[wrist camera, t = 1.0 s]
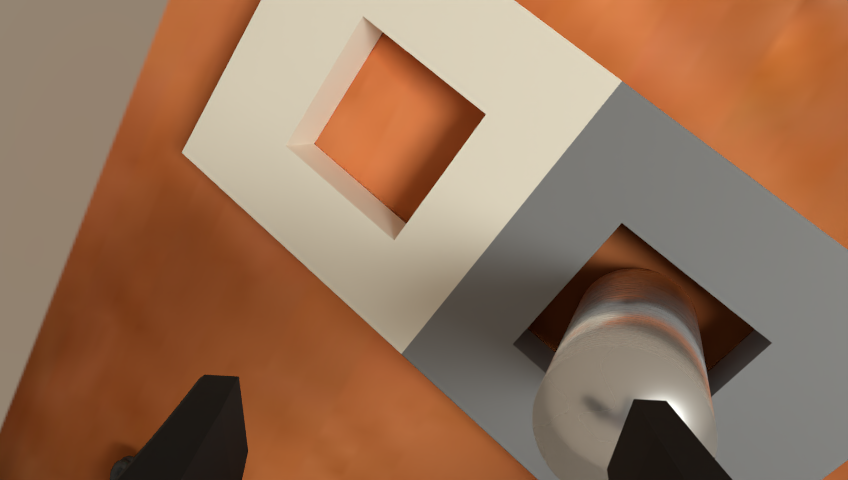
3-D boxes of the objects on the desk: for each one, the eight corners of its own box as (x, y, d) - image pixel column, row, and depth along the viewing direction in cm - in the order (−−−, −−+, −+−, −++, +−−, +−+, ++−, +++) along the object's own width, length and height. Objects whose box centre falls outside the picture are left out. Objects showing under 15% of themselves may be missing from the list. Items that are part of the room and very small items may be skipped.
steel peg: (725, 322, 20) (761, 436, 13) (642, 401, 21) (630, 544, 14) (628, 244, 21) (608, 309, 13) (553, 325, 22) (499, 424, 15)
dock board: (954, 330, 18) (987, 354, 16) (665, 557, 22) (665, 596, 20) (359, -115, 22) (331, -136, 20) (215, 150, 26) (181, 152, 24)
